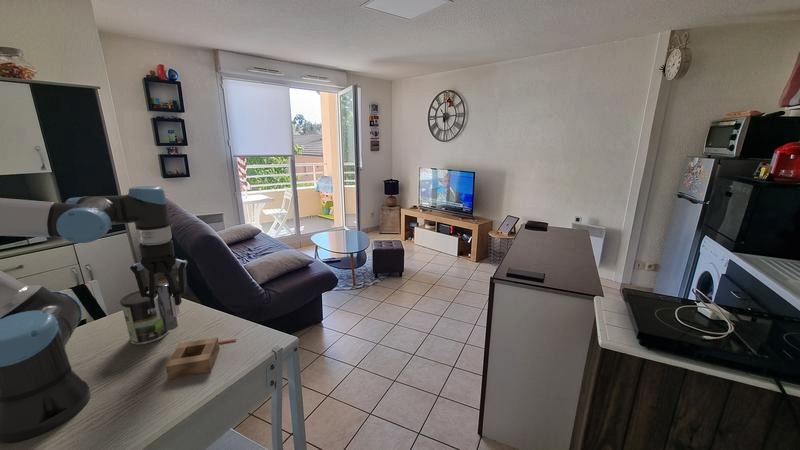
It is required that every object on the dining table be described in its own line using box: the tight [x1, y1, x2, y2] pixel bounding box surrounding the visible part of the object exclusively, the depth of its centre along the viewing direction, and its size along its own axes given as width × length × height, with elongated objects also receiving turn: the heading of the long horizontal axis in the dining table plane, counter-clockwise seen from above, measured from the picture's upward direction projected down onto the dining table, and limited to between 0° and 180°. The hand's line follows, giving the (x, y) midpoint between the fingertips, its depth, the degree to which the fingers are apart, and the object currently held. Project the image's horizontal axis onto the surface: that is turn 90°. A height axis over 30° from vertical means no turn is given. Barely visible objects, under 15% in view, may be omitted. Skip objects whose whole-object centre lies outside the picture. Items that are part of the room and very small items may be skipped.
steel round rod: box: [156, 282, 179, 332], centre depth 92 cm, size 3×3×14 cm
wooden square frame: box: [165, 336, 220, 380], centre depth 87 cm, size 10×10×4 cm
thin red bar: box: [218, 338, 237, 345], centre depth 96 cm, size 14×1×1 cm, turn 107°
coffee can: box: [119, 290, 171, 346], centre depth 98 cm, size 10×10×14 cm
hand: (168, 315), depth 92 cm, fingers closed on steel round rod, 3 cm apart
